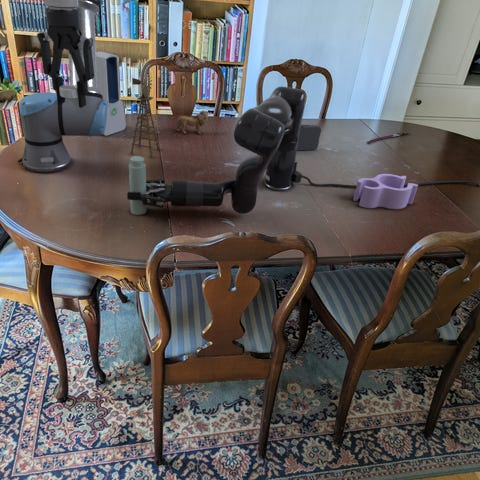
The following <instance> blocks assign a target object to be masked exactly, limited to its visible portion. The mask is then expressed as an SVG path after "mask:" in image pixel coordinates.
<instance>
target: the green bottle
mask: <svg viewBox="0 0 480 480" xmlns="http://www.w3.org/2000/svg"><path fill="white" fill-rule="evenodd" d="M128 179H129V180H128V181H129V185H130V190H129V192H141V193H142V192H146V180H147V164H146V163H145V157H143V156H140V155H134V156H131V157H130V160H129V163H128ZM129 203H130V206H129V207H130V213H131V214H132V215H136V216H141V215H144V214H146V213H147V211H148V210H147V207H148V205H143V202H142V201H141V200H129Z"/></svg>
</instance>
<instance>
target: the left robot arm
mask: <svg viewBox="0 0 480 480" xmlns="http://www.w3.org/2000/svg"><path fill="white" fill-rule="evenodd" d="M44 5H45V6H47V7H46V8H45V17H46V23H47V30H46V31H41V32H38V33H37V34H36V37H37V40H38V42H39V46H40V47H39V48H40V55H41V64H42V72H43V74H44V75H46V76H48V77H50V78H51V84H52V90H53V91H55V92H56V93H54V92H51V91H42V92H36V93H32V94H28V95H25V96H23V97H22V98H21V99H20V101H19V103H18V104H19V116H20V119H21V126H22V132H23V137H24V148H23V153H22V157H20V159H18V160H17V163H18V164H20V163H22V166H23V168H24V169H25V170H27V171H29V172H33V173H39V174H46V173H56V172H61V171H63V170H66V169H67V168H69V167H70V166H71V163H72V159H71V155H70V153H69V151H68V150H67V149H68V148H67V147H66V145H65V143H64V140H63V136H65V137H89V138H91V137H100V136H104V135H103V134H104V132H105V128H106V121H107V101H106V100H103V95H102V94H101V93H100V92H99V91H98V88H97V65H96V52H97V48H96V47H97V45H96V44H97V43H96V25H95V21H96V20H95V15H96V14H97V13H98V12H99V11H100V6H102V5H104V0H44ZM50 40H51V41H52V43H53V44H52V52H51V43H50ZM64 50H67V52H68V54H67V55H68V71H69V84H71V85H77V91H78V98H64V97H61V95H60V90H59V89H60V88H59V87H60V86H62V85H64V78H63V76H61V75H62V74H61V66H62V65H61V64H62V59H63V58H62V57H63V51H64Z"/></svg>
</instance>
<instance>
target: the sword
mask: <svg viewBox="0 0 480 480" xmlns="http://www.w3.org/2000/svg"><path fill="white" fill-rule="evenodd" d="M401 133H402V132H396V133H393V134H389V135H384V136H381V137H375V138H373V139H370V140H369V141H367V143H368V144H372V143H374V142H377V141H381V140H385V139H389V138H393V137H401V136H403V135H404V134H401ZM409 134H410V133H406V134H405V135H409Z"/></svg>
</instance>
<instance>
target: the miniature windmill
mask: <svg viewBox="0 0 480 480" xmlns="http://www.w3.org/2000/svg"><path fill="white" fill-rule="evenodd" d="M148 74H149V75H148ZM148 74H147V70H145V73H143V77H142V79H143V80H141V79H138V78H136V77H135V78H134V77H132V78H131V81H132V82H131V83H132V86H133V85H134V86H137V85H138V86H140V85H141V88H142V89H141V90H142V94H141V95H140V96H138V97H137V98H136V99H137V100H139V101H140V104H139V105H138V107H139V109H138V111H137V112H138V114H137V117H136V124H135V128H134V134H133V136H132V138H133V140H132V143H131V149H130V154H131V155H132V154H133V153H134V149H135V146H137V147H143V148H148V149H149V157H150V158H153V149H152V148H153V147H154V146H155V145H156V148H157V150H160V145H159V139H158V137H157V133H156V127H155V122H154V119H153V116H154V115H153V114H152V110H151V104H150V101H152V100H153V99H154V97H153V96H149V95H150V93H151V90H152V87H151V86H152V85H153V82H152V81H153V79H152V77H153V76H152V73H151V70H148ZM151 82H152V83H151ZM144 109H145V113H144ZM148 113H149V114H148ZM144 117H146V118H144ZM143 121H146V125H144V124H143ZM149 121H151V126H150V122H149ZM139 124H140V126H139ZM143 127H144V128H145V127H146V128H147V131H146V130H143ZM150 129H151V130H150ZM152 132H153V135H154V138H151V133H152ZM142 133H146V134H147V137H142ZM137 136H139V137H137ZM136 137H137V139H136ZM143 139H144V140H148V144H149V145H144V144H142V140H143ZM137 141H138V143H137V144H136V142H137ZM152 141H155V142H154V143H153V144H152Z"/></svg>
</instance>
